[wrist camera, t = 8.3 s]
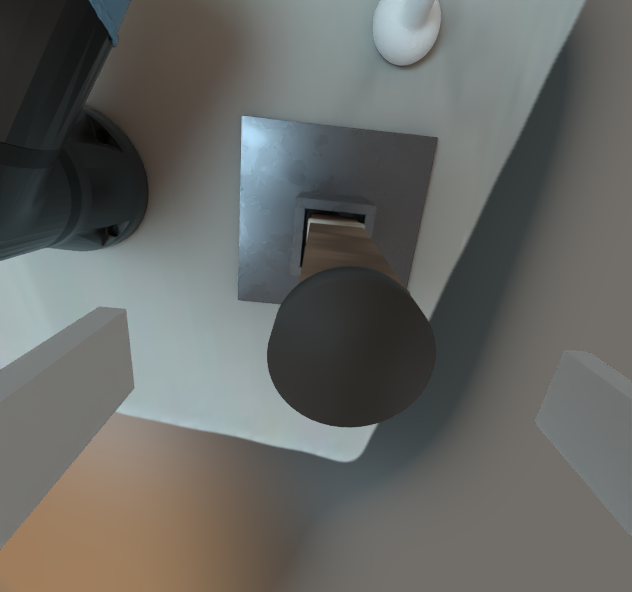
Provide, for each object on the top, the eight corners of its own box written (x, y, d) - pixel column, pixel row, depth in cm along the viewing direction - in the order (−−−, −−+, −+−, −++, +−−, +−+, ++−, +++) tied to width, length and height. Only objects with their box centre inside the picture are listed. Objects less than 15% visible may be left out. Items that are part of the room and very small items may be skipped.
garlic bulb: (357, 23, 32) (368, -20, 25) (413, -26, 31) (442, -86, 24) (392, 83, 34) (411, 60, 27) (446, 39, 33) (482, 2, 25)
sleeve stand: (240, 296, 42) (217, 333, 33) (244, 117, 35) (216, 99, 26) (398, 312, 43) (421, 352, 33) (434, 138, 36) (474, 127, 26)
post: (298, 263, 32) (263, 420, 12) (303, 203, 30) (271, 271, 10) (356, 269, 33) (416, 433, 12) (365, 209, 31) (454, 289, 10)
